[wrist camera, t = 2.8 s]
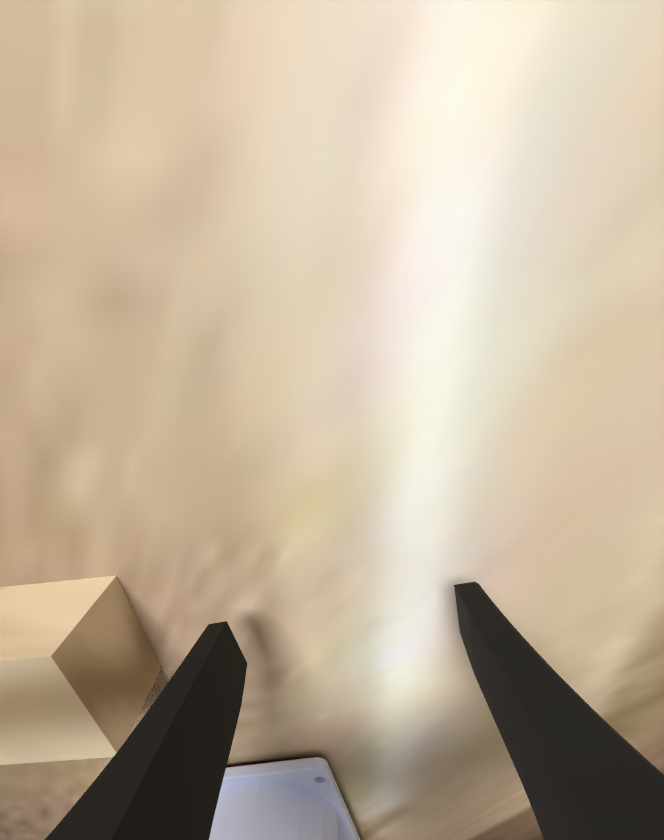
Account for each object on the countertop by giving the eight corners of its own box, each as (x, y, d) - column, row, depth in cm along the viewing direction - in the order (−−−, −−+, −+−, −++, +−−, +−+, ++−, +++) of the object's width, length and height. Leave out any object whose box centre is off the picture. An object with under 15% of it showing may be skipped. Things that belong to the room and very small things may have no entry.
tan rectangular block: (165, 658, 13) (119, 756, 10) (-10, 673, 13) (-102, 771, 11) (121, 568, 11) (51, 656, 8) (-78, 589, 12) (-209, 679, 9)
